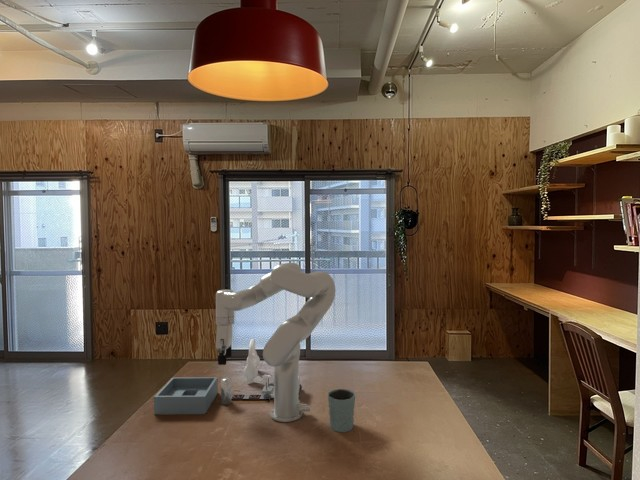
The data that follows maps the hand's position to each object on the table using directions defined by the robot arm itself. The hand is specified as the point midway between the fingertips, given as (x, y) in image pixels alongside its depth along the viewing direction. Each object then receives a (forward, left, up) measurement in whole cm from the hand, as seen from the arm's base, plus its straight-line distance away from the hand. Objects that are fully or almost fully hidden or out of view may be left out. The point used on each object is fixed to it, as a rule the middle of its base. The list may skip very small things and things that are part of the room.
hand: (224, 360), depth 168 cm
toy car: (-22, -8, -18) cm, 30 cm away
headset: (-6, -29, -18) cm, 35 cm away
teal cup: (-47, +20, -18) cm, 55 cm away
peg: (0, 0, -18) cm, 18 cm away
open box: (+16, 0, -18) cm, 24 cm away
